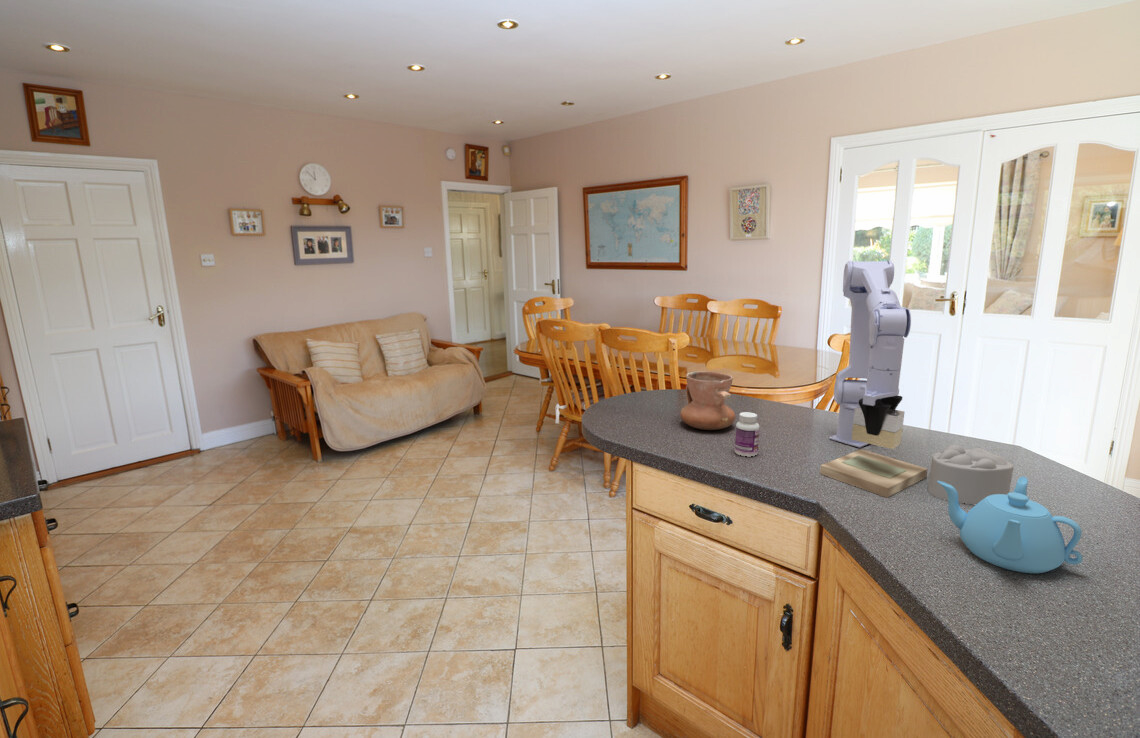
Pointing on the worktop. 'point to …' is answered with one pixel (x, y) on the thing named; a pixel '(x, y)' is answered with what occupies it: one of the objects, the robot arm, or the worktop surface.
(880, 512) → the worktop surface
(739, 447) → the pill bottle
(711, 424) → the ceramic jug
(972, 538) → the teapot
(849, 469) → the birch stand
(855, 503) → the worktop surface
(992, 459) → the lumpy-topped squat cylinder
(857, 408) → the block
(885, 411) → the robot arm
